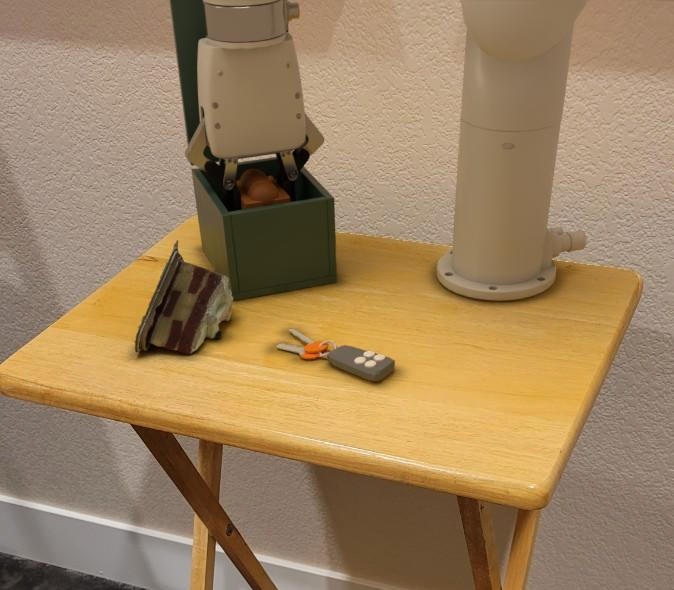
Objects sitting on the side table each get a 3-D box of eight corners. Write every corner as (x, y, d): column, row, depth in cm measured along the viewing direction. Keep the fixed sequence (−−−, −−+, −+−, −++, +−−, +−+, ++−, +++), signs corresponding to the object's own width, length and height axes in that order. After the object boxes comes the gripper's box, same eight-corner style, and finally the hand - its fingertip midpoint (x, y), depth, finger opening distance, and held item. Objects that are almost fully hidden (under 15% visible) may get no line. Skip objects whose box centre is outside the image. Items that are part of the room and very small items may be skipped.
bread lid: (287, -14, 86) (270, -30, 90) (170, -2, 84) (158, -19, 88) (293, 151, 98) (278, 131, 102) (191, 166, 96) (179, 144, 99)
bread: (274, 209, 98) (270, 161, 95) (292, 232, 93) (289, 183, 90) (232, 215, 97) (227, 167, 94) (249, 239, 92) (244, 190, 89)
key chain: (399, 369, 81) (399, 354, 80) (375, 386, 79) (375, 371, 78) (291, 331, 87) (290, 317, 86) (266, 346, 85) (265, 332, 84)
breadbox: (337, 282, 95) (334, 197, 89) (232, 301, 92) (222, 215, 86) (297, 233, 105) (292, 154, 99) (202, 249, 102) (191, 168, 96)
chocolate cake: (201, 372, 82) (242, 249, 82) (129, 347, 82) (170, 224, 82) (213, 392, 92) (249, 282, 92) (148, 370, 92) (185, 259, 91)
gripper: (318, 5, 87) (324, 197, 99) (148, 22, 83) (177, 219, 96) (343, 21, 82) (346, 221, 94) (163, 40, 78) (191, 245, 91)
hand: (261, 218), depth 95 cm, fingers closed on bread, 4 cm apart
